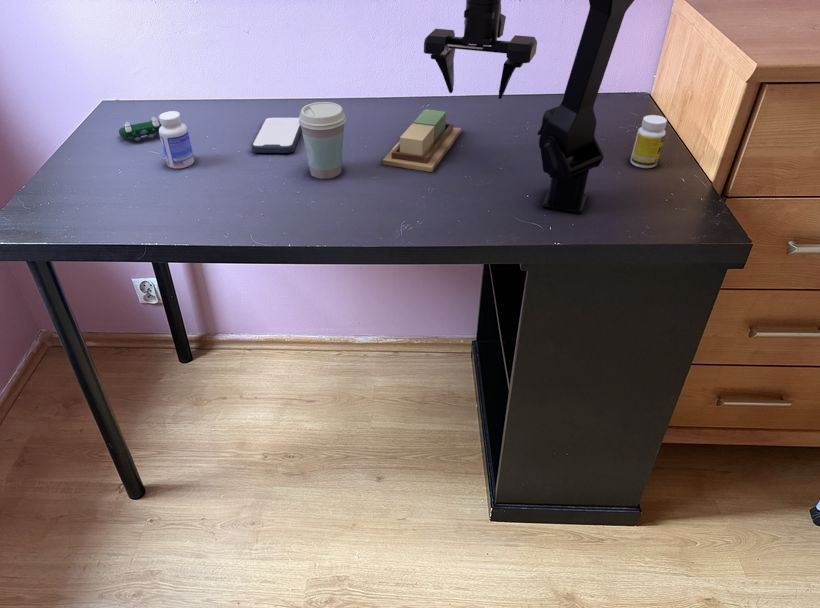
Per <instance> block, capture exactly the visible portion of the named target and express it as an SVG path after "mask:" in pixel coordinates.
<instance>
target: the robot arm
mask: <svg viewBox="0 0 820 608" xmlns="http://www.w3.org/2000/svg"><path fill="white" fill-rule="evenodd" d="M634 2H635V0H588V4H589V9H588V13H587V16H586V20H585V22H584V26H583V29H582V33H581V37H580V40H579V43H578V46H577V50H576V52H575V56H574V60H573V62H572V67H571V70H570V73H569V76H568V79H567V83H566V87H565V90H564V93H563V97H562V100H561V102H560V104H559V105H558V106H555V107H552V108H550V109H547V110H545V111H544V113H543V115H542V119H541V120H542V121H541V126H540V129H539V130H538V131H537V135H538V136H539V139H538V147H539V149H540V156H541V163H542V171H543V172H544V173H546V174H548V176H549V178H550V183H549V189H548V190H547V193H546V195H545V198H544V200H543V202H542V207H541V208H543V209H549V210H554V211H561V212H566V213H572V214H578V215H579V214H582V213H583V210H584V206H585V204H586V201H587V197H588V194H586V193H585V191H586V186H587V183H588V176H589V173H590V172H589V171H590V170H593V169H594V168H597V167H599V166H600V165H601V163H602V162H603V160H604V159H605V155H604V154H603V151H602V149H601V147H600V144H599V143H598V141H597V139H596V136H595V133H596V128H597V118H596V113H595V109H594V108H595V107H594V106H595V103H596V100H597V97H598V94H599V92H600V88H601V85H602V82H603V79H604V77H605V73H606V70H607V68H608V65H609V62H610V59H611V57H612V53H613V50H614V47H615V43H616V41H617V38H618V36H619V32H620V29H621V26H622V23H623V20H624V17H625V15H626V13H627V10H629V8H630V7H631V6H632V4H633V3H634ZM463 18H464V20H463V25H464V27H463V36H456V33H455V30H454V29H448V28H447V29H445V28H434V29H433V30H432V32H430V33H429V34H428V35H427V36H426V37H425V38H424V41H423V54H426V55H430V59H431V60H434V61H435V62H436V64H437V66H438V68H439V70H440V72H441V74H442V77H443V79H444V83H445V85H446V87H447V90H448V93H449V94H452V93H453V92H454V86H455V63H454V62H455V54H456V50H465V51H476V52H484V53H485V52H487V53H496V54H497V53H498V54H506V55H505V57H506V60H505V61H504V63H503V66H502V72H501V77H500V82H499V83H500V84H499V88H498V99H499V100H501V99H502V98H503V96H504V94H505V93H506V89H507V87H508V85H509V82H510V80H511V78H512V76H513V74H514V72H515V70H516V69H519V68H522V67H523V65H524V64H530V62H531V61H532V60H533V59H534V57H535V55H536V53H537V49H538V48H537V47H538V40H537V39H536V37H535V36H531V35H517V34H516V35H513V37H512V38H511V39H510V40H498V39H500V38H501V37H502V36H504V31H505V25H506V20H507V19H506V18H507V16H506V15H505V14H503V13H502V0H465V9H464V11H463Z"/></svg>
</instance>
